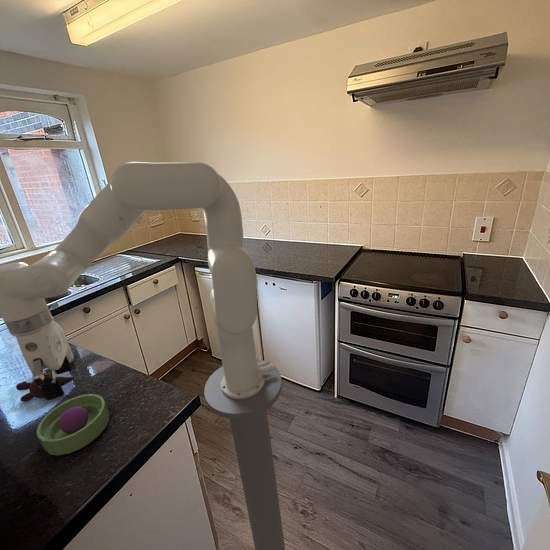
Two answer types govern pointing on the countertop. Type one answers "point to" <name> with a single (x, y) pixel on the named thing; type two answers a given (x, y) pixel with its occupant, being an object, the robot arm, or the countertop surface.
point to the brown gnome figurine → (35, 389)
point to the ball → (73, 420)
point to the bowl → (67, 443)
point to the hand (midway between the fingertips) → (60, 383)
